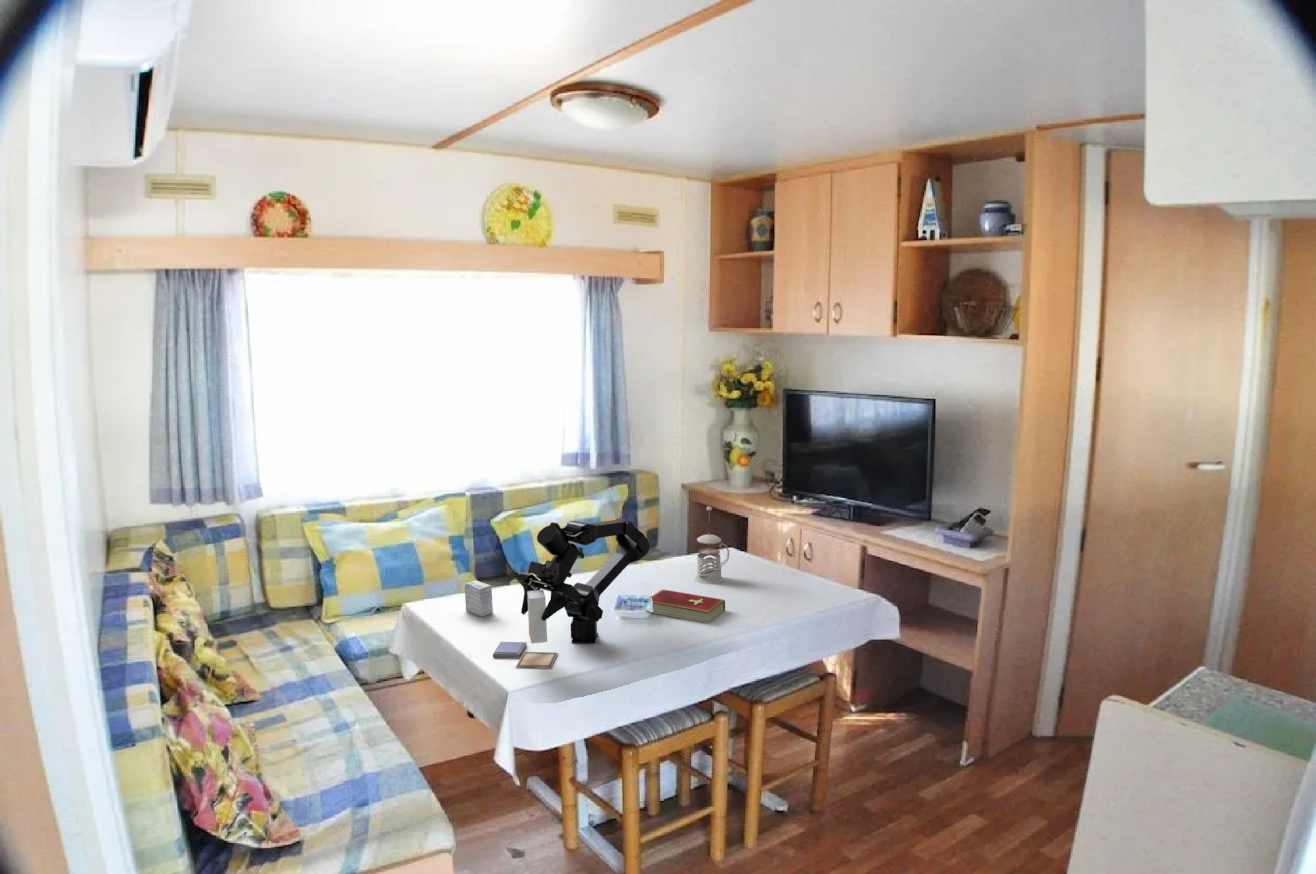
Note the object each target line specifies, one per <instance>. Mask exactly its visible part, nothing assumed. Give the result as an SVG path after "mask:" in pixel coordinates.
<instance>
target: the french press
mask: <svg viewBox="0 0 1316 874" xmlns="http://www.w3.org/2000/svg"><path fill="white" fill-rule="evenodd" d="M712 510H713V507H712V506H707V507H706V511H708V521H710V511H712ZM696 542H698V543H699V544H705V545H715V544H719V547H720V548H722V546H724V547H725V548H726V551H727V554H726V558H725V560H723V561H722V562H721V553H720V552H721V551H720V550H719V549H717V548H700V549H698V552H697V553H698V554H697V566H696V567H697V569H696V570H697V571H696V572H697V573H696V574H697V575H696V576H695V577H694V582H697V583H698V584H703V585H714V584H719V583H722V582H724V578H723V577H722V566H723V565H725V564H727V562H728V561H729V558H730V550H729V547H728V546H727V545H726V544H725V543H724V542H722V538H721V537H719V536H718V535H715V534H710V533H708V534H703V535H700V536H698V537H697V539H696ZM709 556H711V557H709Z"/></svg>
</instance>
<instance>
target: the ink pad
mask: <svg viewBox="0 0 1316 874" xmlns="http://www.w3.org/2000/svg"><path fill="white" fill-rule="evenodd" d="M526 648H527V642H526V641H500V642H499V643H498V645H497V647H496V648H495V650H494V651H493V652H492V658H505V659H507V658H510V659H513V658H514V659H520V658H521V656H522V655H523V653H524V652H525V649H526Z"/></svg>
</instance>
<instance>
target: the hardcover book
mask: <svg viewBox="0 0 1316 874" xmlns="http://www.w3.org/2000/svg"><path fill="white" fill-rule="evenodd" d="M648 598H652V601H653V612H654V613H653V614H656V615H657V614H658V615H662V616H667V617H668V616H669V617H673V618H677V619H678V618H679V619H685V620H689V621H690V620H691V621H696V622H700V623H708V624H709V623H710V622H711V621H712V620H713V619H715V618H716V617H717V616H718V615H720V614H721V613H723V612H725V611H726V600H725V599H722V598H716V597H710V596H705V595H698V594H693V593H687V592H682V591H675V590H668V589H661V590H659V591H658V592H655V593H654V594H653V595H651V596H650V597H648Z"/></svg>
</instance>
